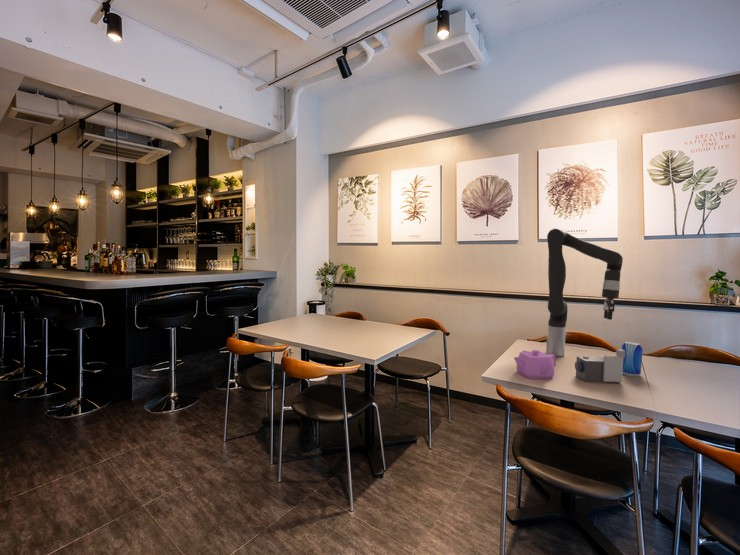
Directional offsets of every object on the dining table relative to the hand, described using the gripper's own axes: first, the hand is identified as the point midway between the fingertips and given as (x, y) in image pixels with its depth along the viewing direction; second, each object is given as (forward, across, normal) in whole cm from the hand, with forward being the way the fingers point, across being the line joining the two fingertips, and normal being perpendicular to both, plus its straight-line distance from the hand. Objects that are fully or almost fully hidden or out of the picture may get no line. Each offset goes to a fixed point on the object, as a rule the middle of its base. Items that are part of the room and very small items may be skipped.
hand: (607, 318), depth 190 cm
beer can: (+26, +8, +11) cm, 30 cm away
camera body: (+29, +25, -6) cm, 38 cm away
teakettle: (+32, +31, -33) cm, 55 cm away
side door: (+28, +28, 0) cm, 39 cm away
